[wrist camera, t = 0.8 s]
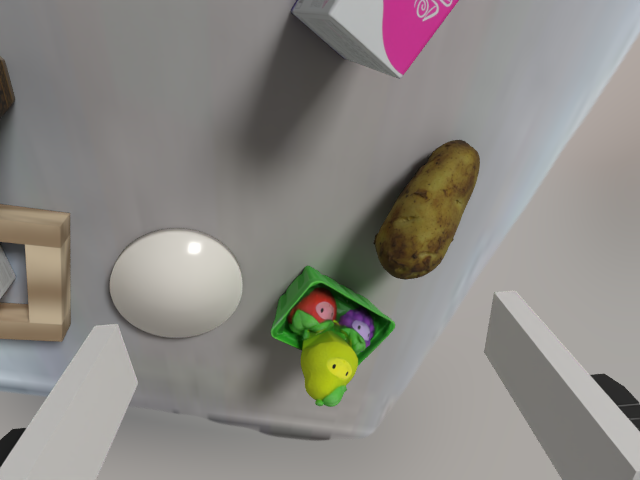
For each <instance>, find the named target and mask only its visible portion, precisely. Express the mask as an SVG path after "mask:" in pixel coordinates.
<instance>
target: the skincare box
mask: <svg viewBox="0 0 640 480" xmlns="http://www.w3.org/2000/svg"><path fill="white" fill-rule="evenodd" d="M14 280H15V274H14V272H13V270H12V268H11V266H10V264H9V262H8V260H7V258H6V256H5V253H4V251H3V249H2V247H1V245H0V299H1V297H2V296H3V295H4V293H5V292H6V291H7V289H8V288H9V286H10V285H11V284H12V282H13V281H14Z"/></svg>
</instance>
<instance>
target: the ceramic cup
mask: <svg viewBox="0 0 640 480" xmlns="http://www.w3.org/2000/svg"><path fill="white" fill-rule="evenodd" d="M14 101H15V96H14V92H13V89H12V85H11V81H10V77H9V74H8V70H7V66H6V63H5V60H4V59H3V58H2V57H1V56H0V118H1V117H2V116H3V115H4V113H5V112H6V111H7V110H8V109H9V107H10V106H11V105H12V103H13V102H14Z"/></svg>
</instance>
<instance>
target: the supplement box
mask: <svg viewBox="0 0 640 480" xmlns="http://www.w3.org/2000/svg"><path fill="white" fill-rule="evenodd" d="M458 1H459V0H297V1H296V3H295V4H294V6H293V8H292V9H291V12H292V13H293V14H294V15H295V16H296V17H297V18H298V19H299V20H301V21H302V22H303V23H304V24H305V25H306V26H307V27H308V28H310V29H311V30H312V31H313V32H314V33H315V34H316V35H318V36H319V37H320V38H321V39H322V40H323V41H324V42H326V43H327V44H328V45H329V46H330V47H331V48H332V49H334V50H335V51H336V52H337V53H338V54H339V55H340V56H342V57H343V58H344V59H347V60H350V61H353V62H356V63H358V64H361V65H364V66H366V67H369V68H372V69H374V70H377V71H380V72H382V73H385V74H388V75H391V76H393V77H396V78H399V79H400V78H401V77H402V76H403V75H404V73H405V72H406V71H407V70H408V68H409V67H410V65H411V64H412V63H413V61H414V60H415V59H416V57H417V56H418V55H419V53H420V52H421V51H422V49H423V48H424V47H425V45H426V44H427V42H428V41H429V40H430V38H431V37H432V36H433V34H434V33H435V32H436V30H437V29H438V28H439V26H440V25H441V24H442V22H443V21H444V20H445V18H446V17H447V16H448V14H449V13H450V12H451V10H452V9H453V8H454V6H455V5H456V3H457V2H458Z"/></svg>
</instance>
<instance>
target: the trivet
mask: <svg viewBox="0 0 640 480" xmlns="http://www.w3.org/2000/svg"><path fill="white" fill-rule="evenodd" d="M110 293H111V298H112V300H113V303H114V305H115V307H116V308H117V310H118V311H119V313H120V314H121V315H122V316H123V317H124V318H125V319H126V320H127V321H128V322H130V323H131V324H132V325H134V326H135V327H137V328H139V329H141V330H143V331H145V332H148V333H150V334H154V335H157V336H162V337H170V338H183V337H191V336H196V335H200V334H203V333H206V332H208V331H211V330H213V329H215V328H216V327H218V326H220V325H221V324H222V323H224V322H225V321H226V320H227V319H228V318H229V317H230V316H231V315H232V314H233V313H234V311H235V310H236V308H237V306H238V304H239V302H240V299H241V296H242V274H241V269H240V266H239V263H238V261H237V260H236V258H235V256H234V255H233V253H232V252H231V251H230V250H229V249H228V248H227V247H226V246H225V245H224V244H223V243H221V242H220V241H219V240H217V239H215V238H214V237H212V236H210V235H208V234H205V233H203V232H199V231H196V230H191V229H184V228H168V229H161V230H157V231H153V232H150V233H148V234H145V235H143V236H141V237H139V238H137V239H136V240H134V241H133V242H132V243H130V244H129V245H128V246H127V247H126V248H125V249H124V250H123V251H122V253H121V254H120V255H119V257H118V259H117V261H116V263H115V265H114V268H113V271H112V274H111V277H110Z"/></svg>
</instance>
